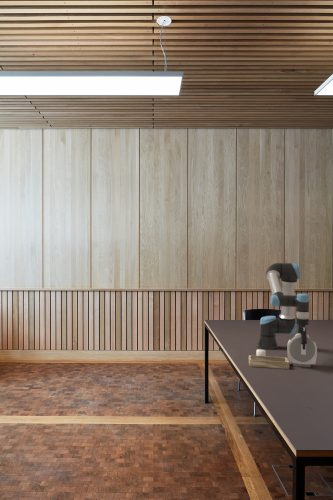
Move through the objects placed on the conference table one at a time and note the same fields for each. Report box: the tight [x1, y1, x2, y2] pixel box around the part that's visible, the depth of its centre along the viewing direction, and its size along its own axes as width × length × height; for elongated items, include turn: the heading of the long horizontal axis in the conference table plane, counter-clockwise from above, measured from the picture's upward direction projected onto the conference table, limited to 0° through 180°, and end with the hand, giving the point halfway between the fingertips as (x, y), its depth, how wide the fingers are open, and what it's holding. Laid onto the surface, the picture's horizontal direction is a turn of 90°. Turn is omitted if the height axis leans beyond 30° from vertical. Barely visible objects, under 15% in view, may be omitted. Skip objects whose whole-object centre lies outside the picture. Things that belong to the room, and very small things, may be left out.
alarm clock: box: [286, 332, 318, 368], centre depth 272 cm, size 18×8×20 cm, turn 74°
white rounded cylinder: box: [255, 348, 267, 356], centre depth 282 cm, size 6×6×7 cm
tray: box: [248, 354, 290, 370], centre depth 272 cm, size 13×24×4 cm, turn 82°
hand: (301, 352), depth 272 cm, fingers open, 12 cm apart
